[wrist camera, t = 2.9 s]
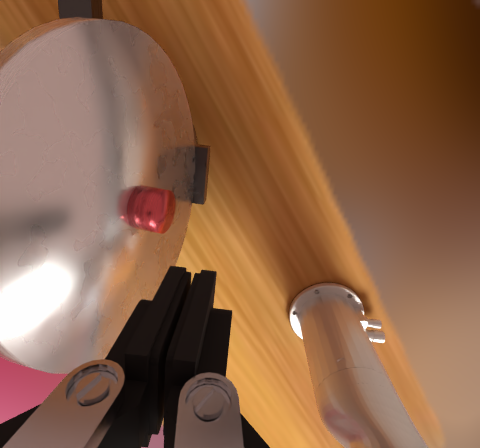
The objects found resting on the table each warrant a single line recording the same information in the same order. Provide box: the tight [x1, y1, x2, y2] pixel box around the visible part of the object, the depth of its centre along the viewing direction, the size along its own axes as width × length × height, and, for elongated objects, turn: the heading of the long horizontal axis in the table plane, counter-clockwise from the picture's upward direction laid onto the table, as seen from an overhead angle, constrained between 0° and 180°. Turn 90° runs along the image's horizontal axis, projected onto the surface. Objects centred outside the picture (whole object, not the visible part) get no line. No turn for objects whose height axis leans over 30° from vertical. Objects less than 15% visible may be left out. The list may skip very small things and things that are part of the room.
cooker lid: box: [0, 17, 195, 373], centre depth 20 cm, size 21×21×4 cm
